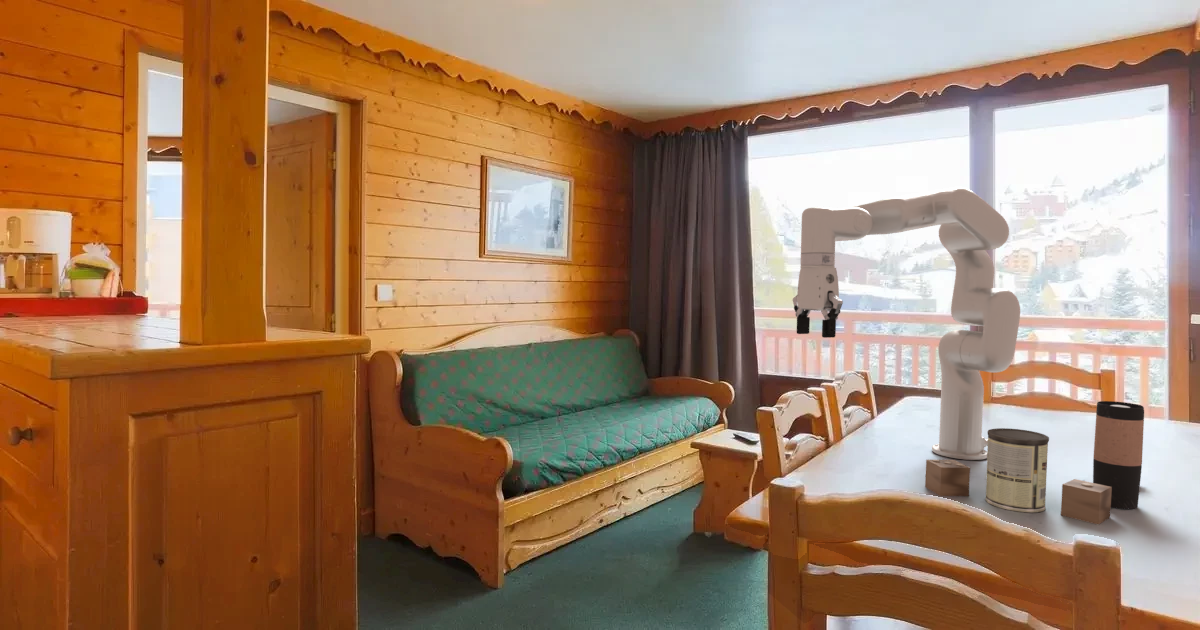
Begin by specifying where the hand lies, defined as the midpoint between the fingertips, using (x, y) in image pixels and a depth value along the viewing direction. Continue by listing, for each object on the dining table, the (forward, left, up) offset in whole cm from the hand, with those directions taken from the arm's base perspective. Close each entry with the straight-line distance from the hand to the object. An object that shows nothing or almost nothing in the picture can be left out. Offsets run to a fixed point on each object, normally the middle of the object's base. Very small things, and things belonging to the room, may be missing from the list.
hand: (815, 335), depth 156 cm
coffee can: (-24, +33, -31) cm, 51 cm away
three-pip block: (-17, +23, -31) cm, 42 cm away
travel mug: (-44, +38, -31) cm, 66 cm away
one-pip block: (-31, +42, -31) cm, 61 cm away
